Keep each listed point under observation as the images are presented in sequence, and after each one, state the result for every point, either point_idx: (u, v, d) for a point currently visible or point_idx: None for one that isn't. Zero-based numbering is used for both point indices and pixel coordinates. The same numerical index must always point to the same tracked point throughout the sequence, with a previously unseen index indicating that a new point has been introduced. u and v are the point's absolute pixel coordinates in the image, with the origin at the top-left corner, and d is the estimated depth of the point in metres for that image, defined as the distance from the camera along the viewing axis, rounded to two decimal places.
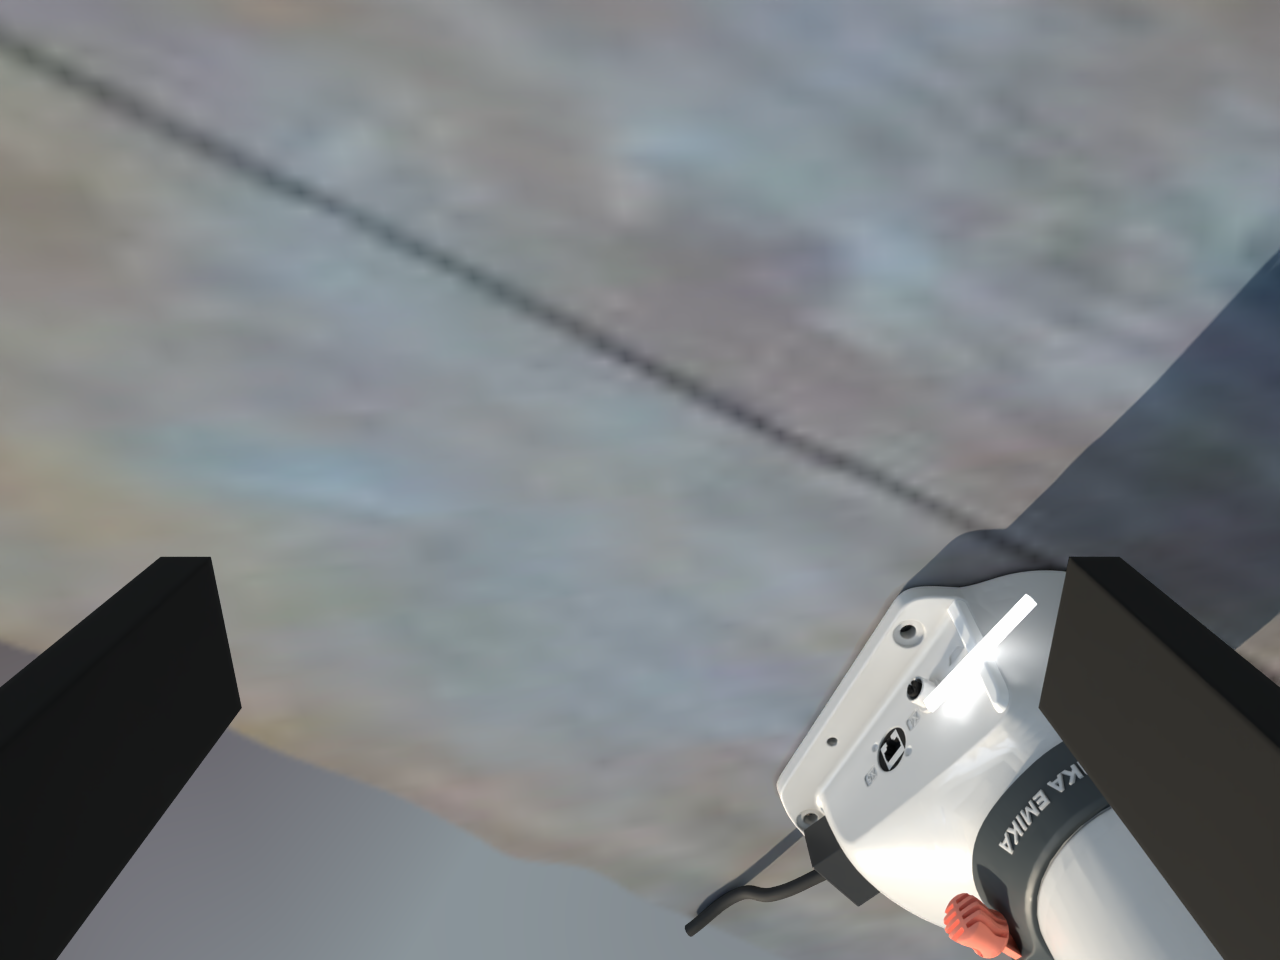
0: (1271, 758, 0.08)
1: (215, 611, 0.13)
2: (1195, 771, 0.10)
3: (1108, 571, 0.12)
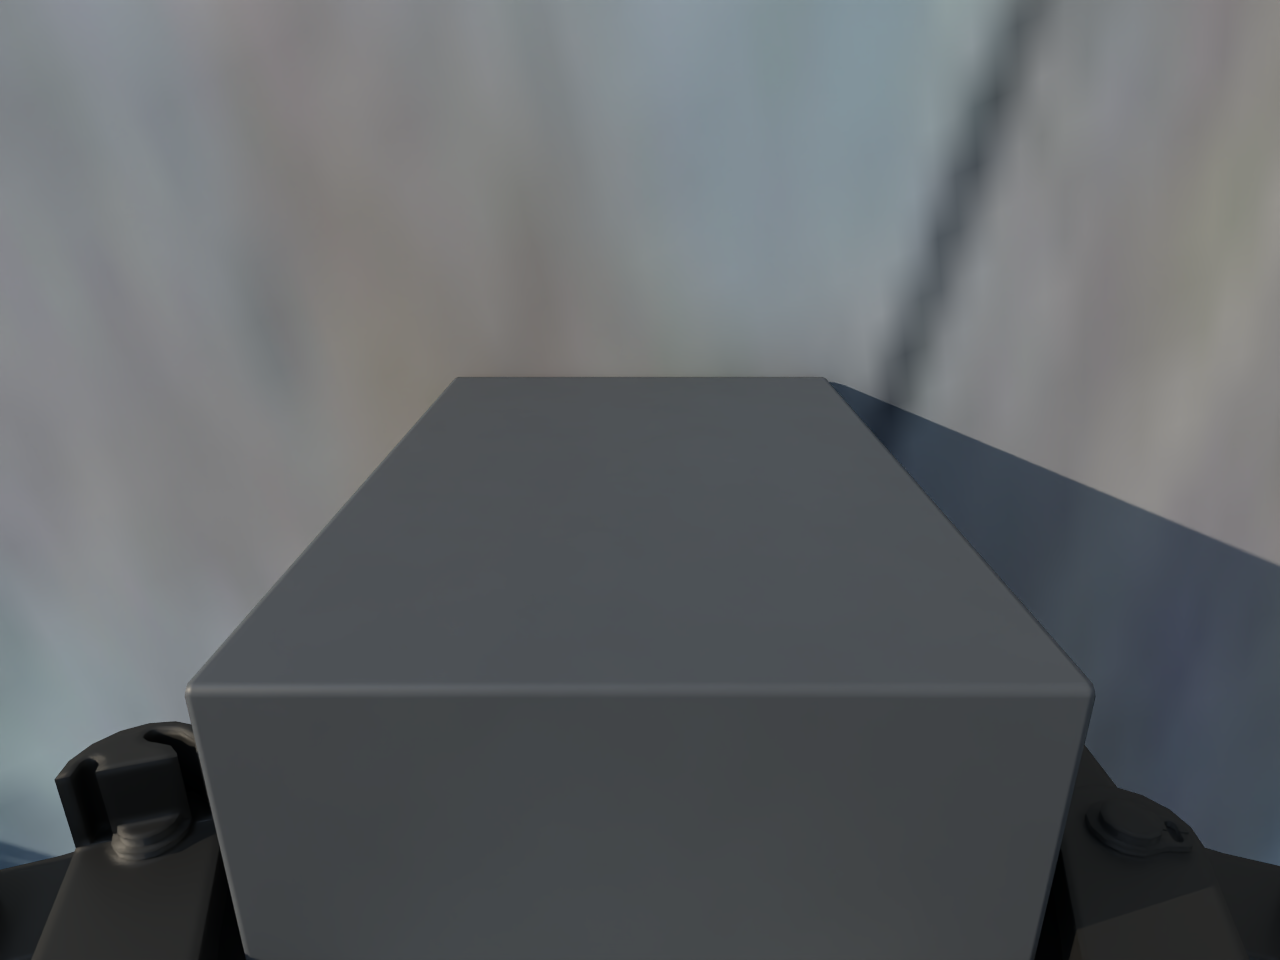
0: None
1: None
2: None
3: None
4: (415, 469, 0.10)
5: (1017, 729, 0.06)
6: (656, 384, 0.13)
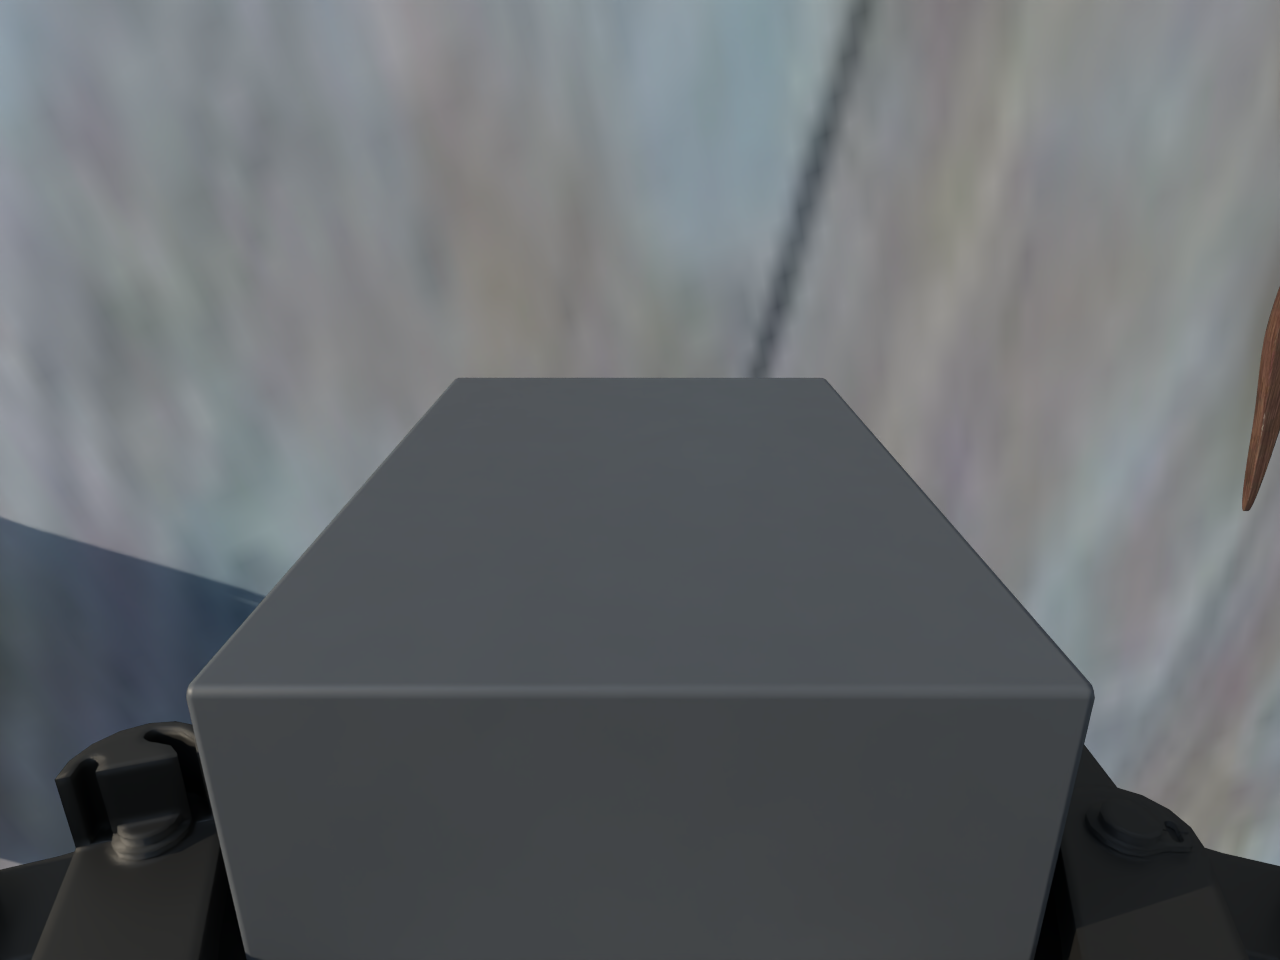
0: None
1: None
2: None
3: None
4: (415, 470, 0.10)
5: (1015, 731, 0.06)
6: (656, 386, 0.13)
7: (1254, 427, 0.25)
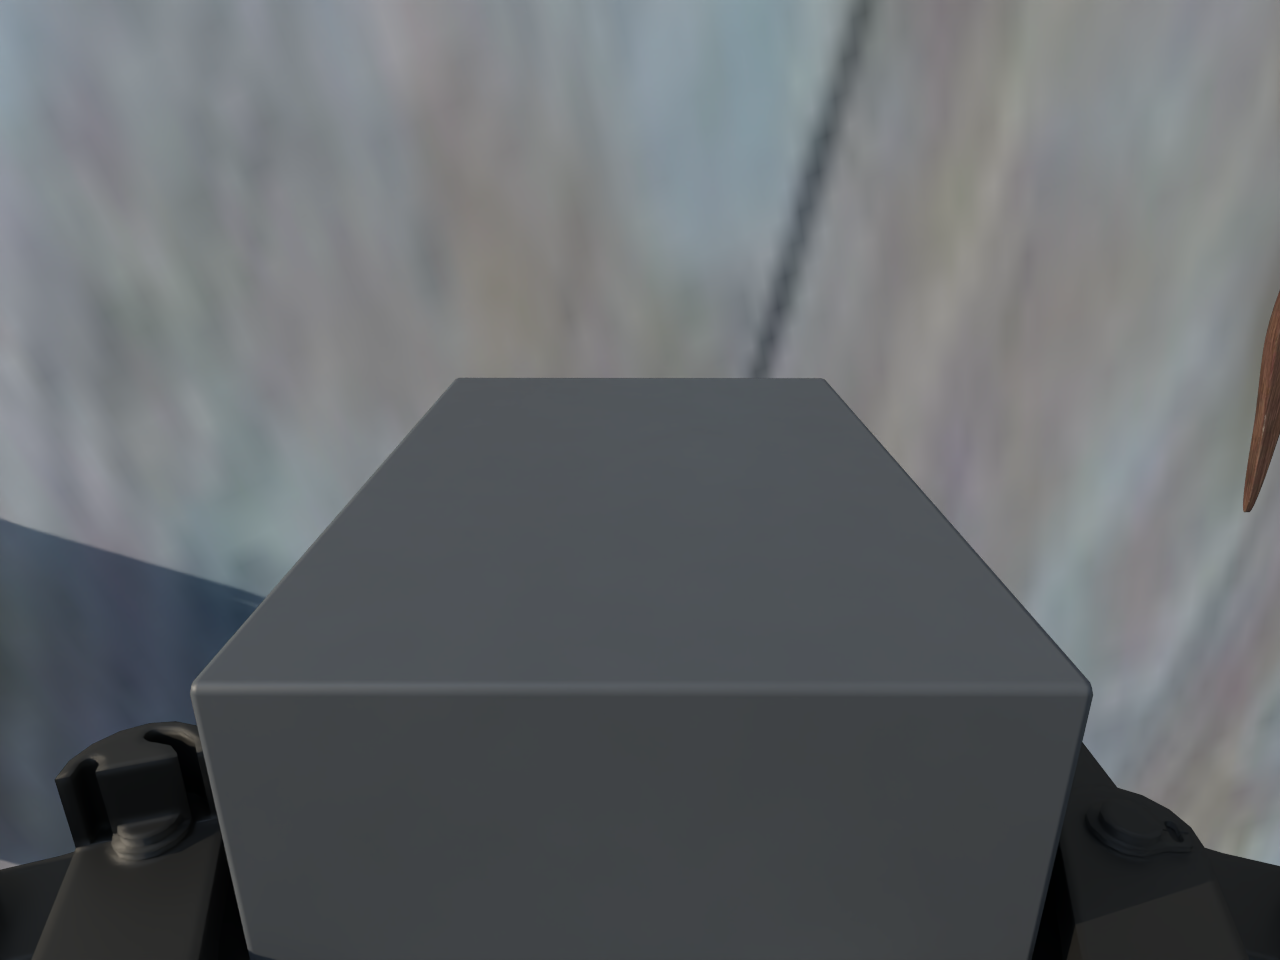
0: None
1: None
2: None
3: None
4: (417, 469, 0.10)
5: (1015, 728, 0.06)
6: (656, 385, 0.13)
7: (1255, 428, 0.25)
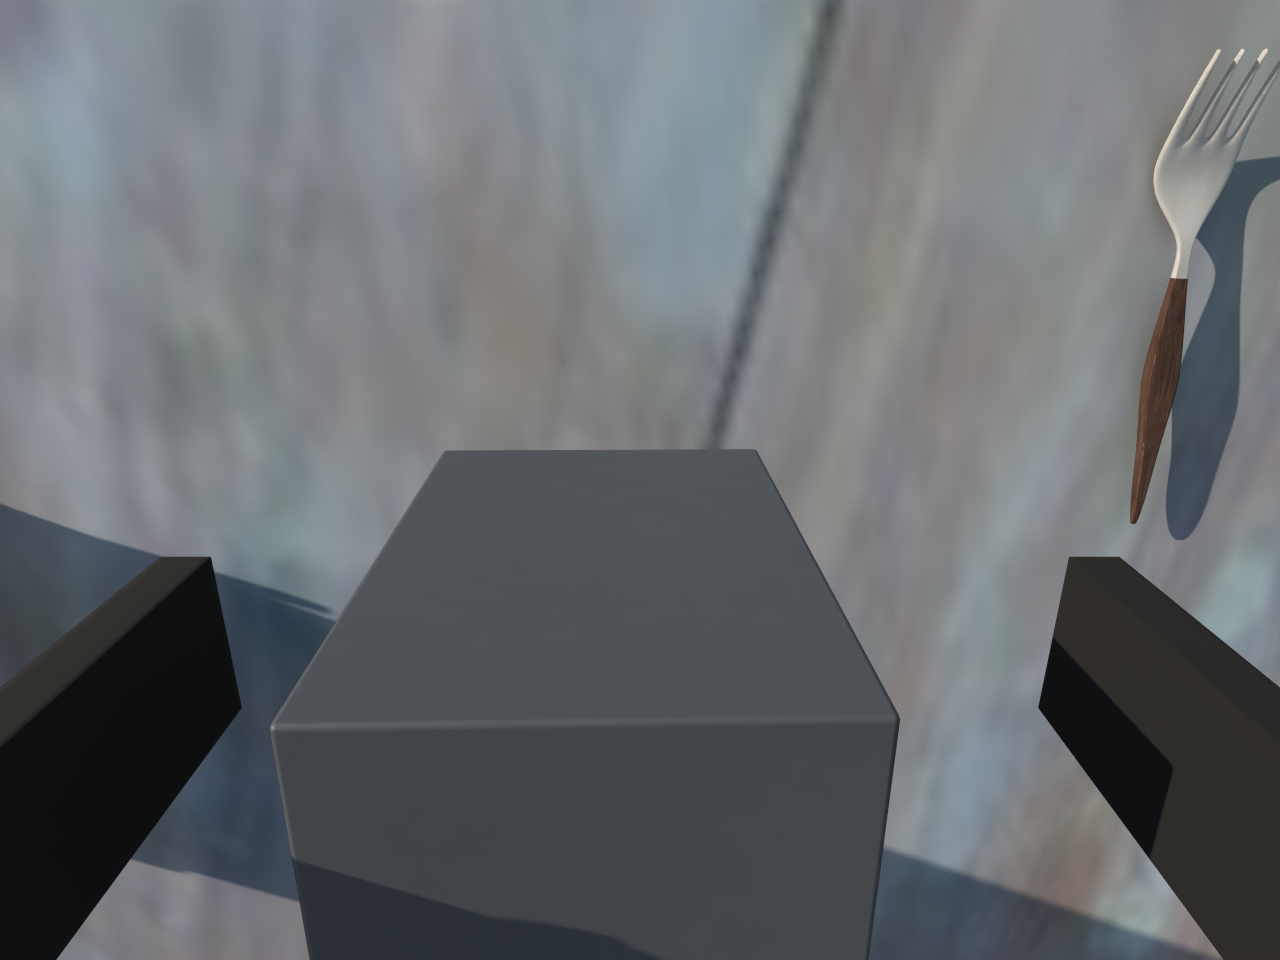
0: (1271, 758, 0.08)
1: (216, 611, 0.13)
2: (1195, 771, 0.10)
3: (1108, 571, 0.12)
4: (417, 544, 0.12)
5: (848, 746, 0.08)
6: (614, 458, 0.16)
7: (1136, 453, 0.30)
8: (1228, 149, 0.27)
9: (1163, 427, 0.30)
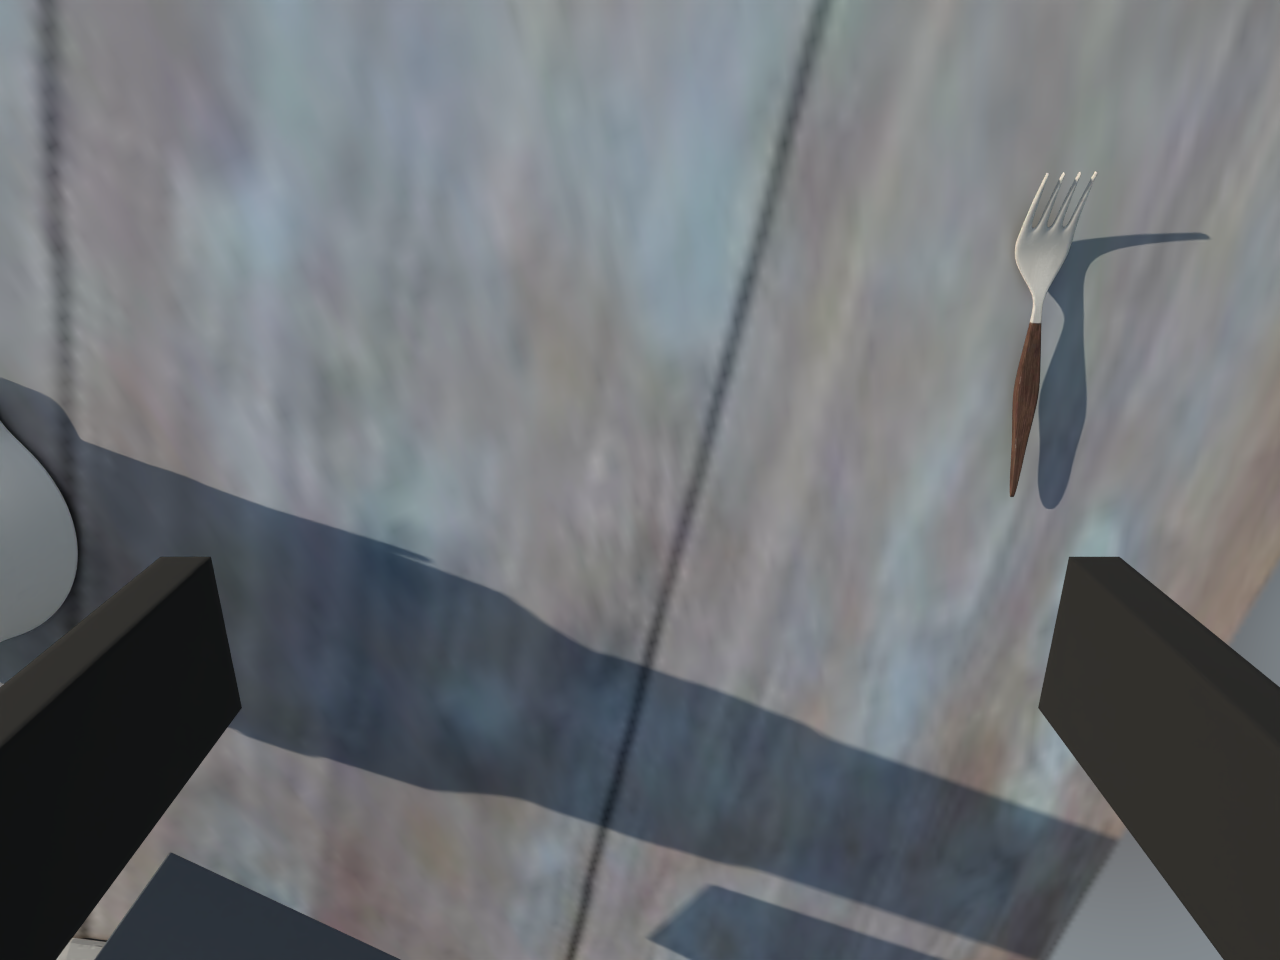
0: (1271, 758, 0.08)
1: (216, 611, 0.13)
2: (1195, 771, 0.10)
3: (1108, 571, 0.12)
4: None
5: None
6: None
7: (1012, 446, 0.42)
8: (1065, 234, 0.39)
9: (1029, 427, 0.42)
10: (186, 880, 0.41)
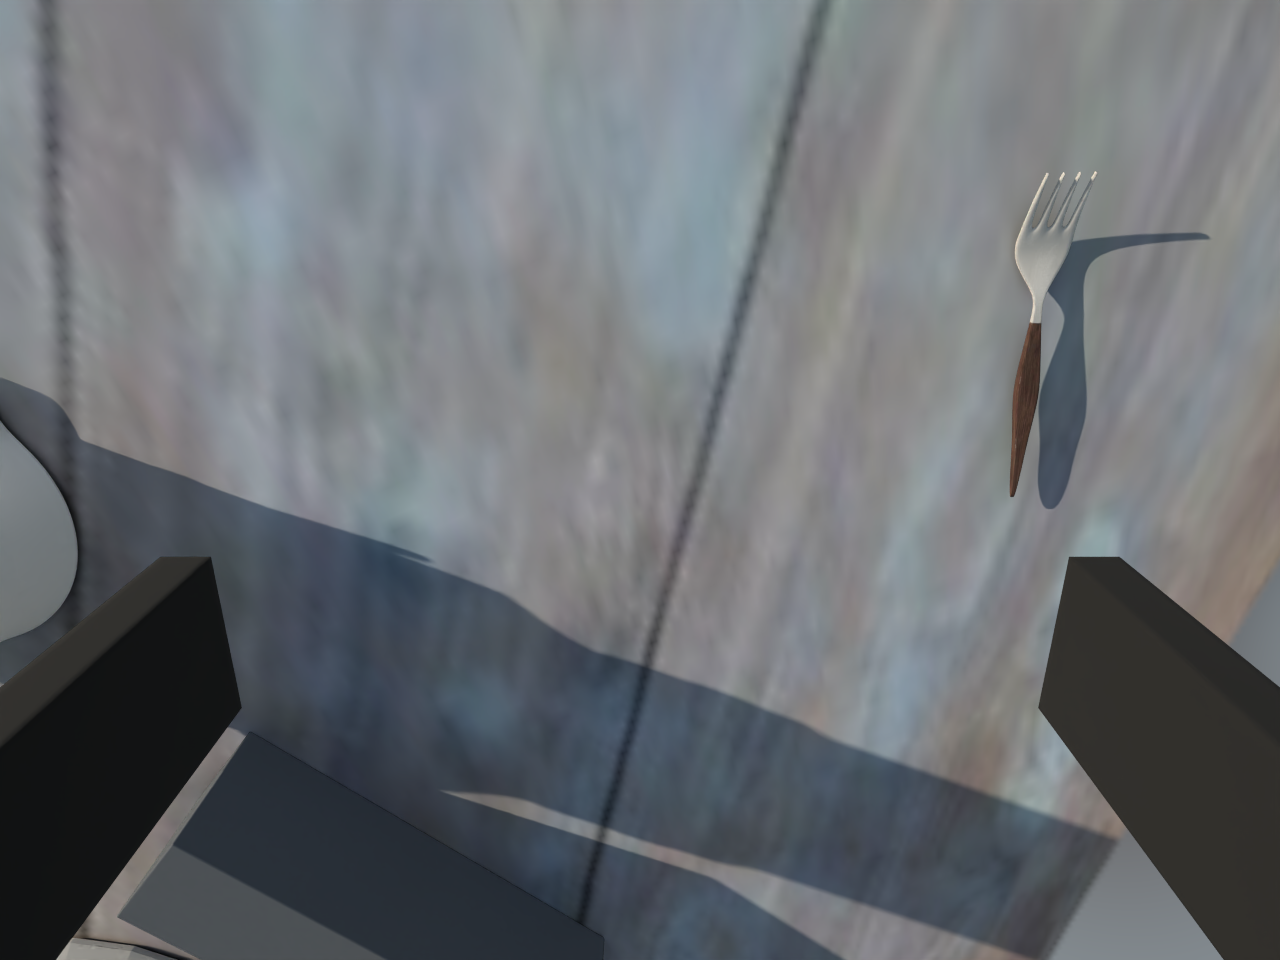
0: (1271, 758, 0.08)
1: (216, 611, 0.13)
2: (1195, 771, 0.10)
3: (1108, 571, 0.12)
4: None
5: (172, 854, 0.41)
6: (222, 768, 0.50)
7: (1012, 446, 0.42)
8: (1065, 234, 0.39)
9: (1029, 427, 0.42)
10: (264, 754, 0.49)
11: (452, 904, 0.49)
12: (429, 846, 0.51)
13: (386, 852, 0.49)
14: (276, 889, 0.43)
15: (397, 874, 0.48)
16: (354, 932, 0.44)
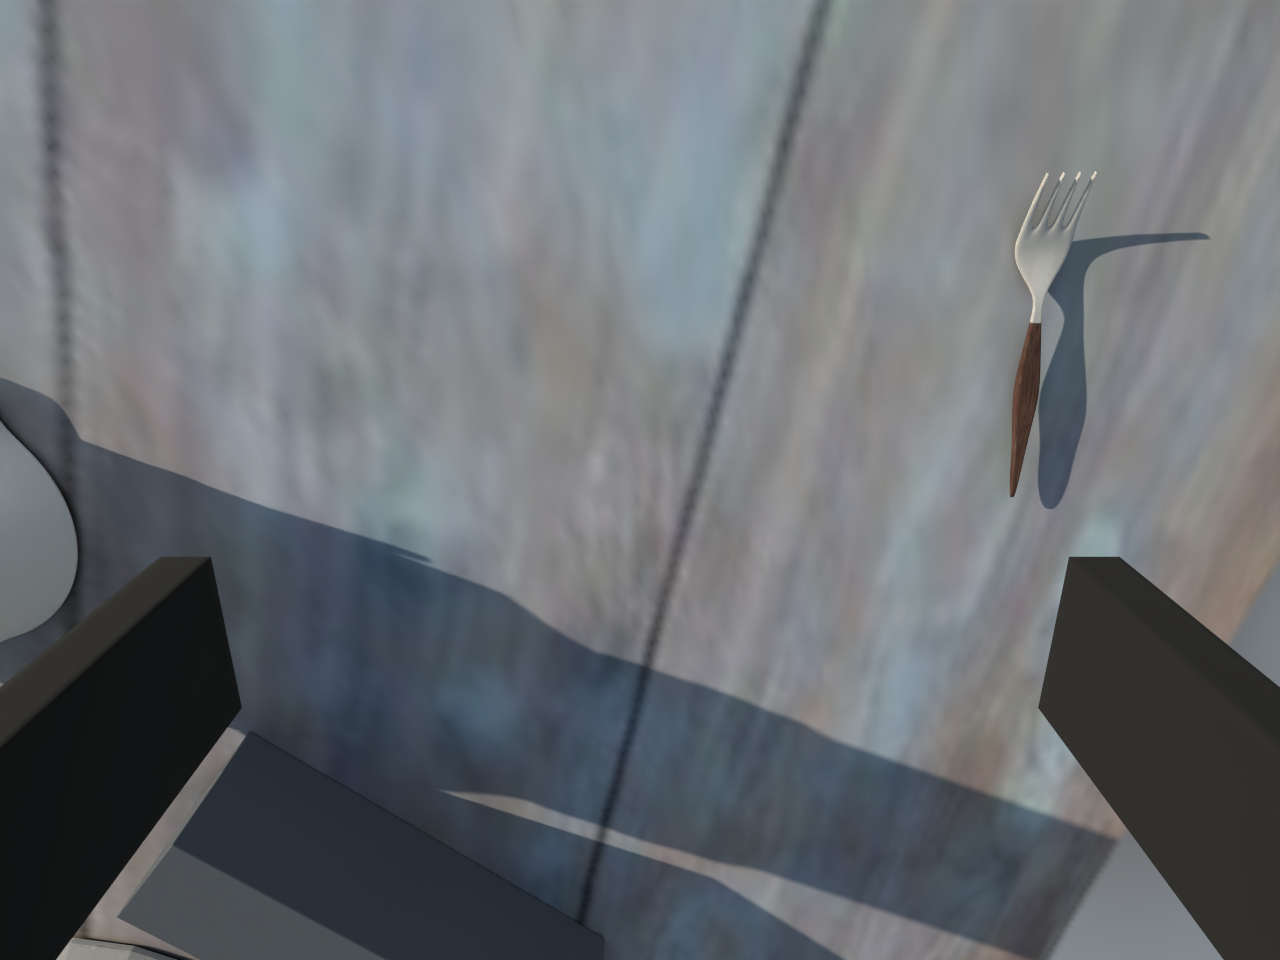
0: (1271, 758, 0.08)
1: (216, 611, 0.13)
2: (1195, 771, 0.10)
3: (1108, 571, 0.12)
4: None
5: (172, 854, 0.41)
6: (222, 768, 0.50)
7: (1012, 446, 0.42)
8: (1065, 234, 0.39)
9: (1029, 427, 0.42)
10: (264, 754, 0.49)
11: (452, 905, 0.49)
12: (429, 846, 0.51)
13: (386, 852, 0.49)
14: (276, 889, 0.43)
15: (397, 874, 0.48)
16: (354, 932, 0.44)
